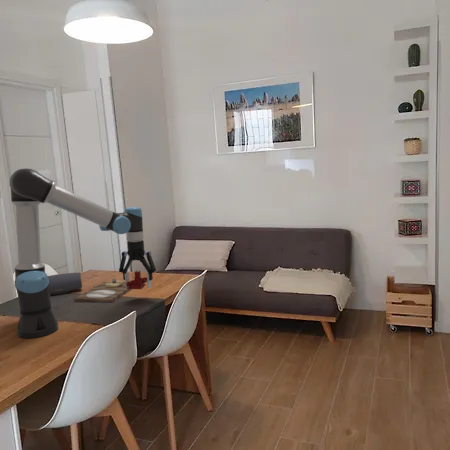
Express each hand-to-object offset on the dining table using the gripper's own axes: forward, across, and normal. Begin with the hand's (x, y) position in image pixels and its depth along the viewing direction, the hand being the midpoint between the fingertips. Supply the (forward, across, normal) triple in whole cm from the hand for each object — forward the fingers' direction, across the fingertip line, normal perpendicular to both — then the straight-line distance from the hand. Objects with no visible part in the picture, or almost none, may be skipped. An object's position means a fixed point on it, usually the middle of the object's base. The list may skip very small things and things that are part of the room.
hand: (138, 286), depth 211 cm
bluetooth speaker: (+8, +50, -11) cm, 51 cm away
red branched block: (+1, +1, 0) cm, 1 cm away
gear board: (+7, +22, -12) cm, 27 cm away
